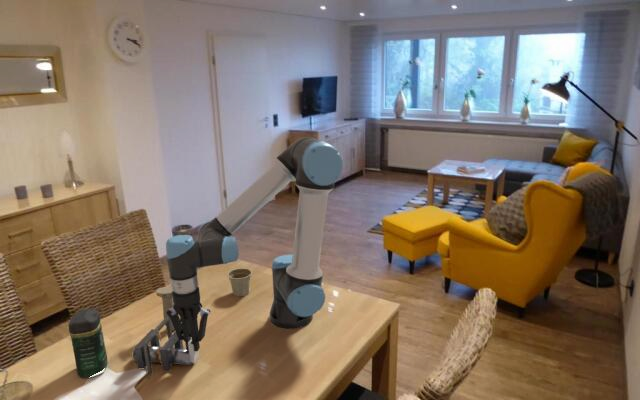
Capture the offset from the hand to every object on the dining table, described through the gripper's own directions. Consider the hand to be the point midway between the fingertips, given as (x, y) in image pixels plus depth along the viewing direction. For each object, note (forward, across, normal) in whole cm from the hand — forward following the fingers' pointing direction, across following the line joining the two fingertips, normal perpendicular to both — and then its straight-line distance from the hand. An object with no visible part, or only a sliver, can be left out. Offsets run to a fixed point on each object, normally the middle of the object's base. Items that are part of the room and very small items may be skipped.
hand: (194, 359), depth 134 cm
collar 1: (+1, -15, 0) cm, 15 cm away
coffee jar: (+1, -29, -7) cm, 30 cm away
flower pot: (+2, -1, +44) cm, 44 cm away
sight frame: (+1, -11, 0) cm, 11 cm away
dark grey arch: (+1, -7, 0) cm, 7 cm away
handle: (+1, -16, +16) cm, 23 cm away
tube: (+1, -10, 0) cm, 10 cm away
